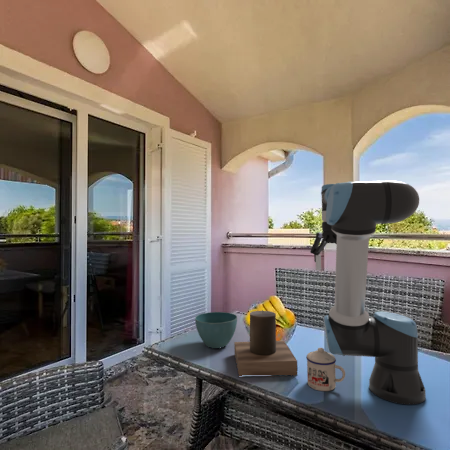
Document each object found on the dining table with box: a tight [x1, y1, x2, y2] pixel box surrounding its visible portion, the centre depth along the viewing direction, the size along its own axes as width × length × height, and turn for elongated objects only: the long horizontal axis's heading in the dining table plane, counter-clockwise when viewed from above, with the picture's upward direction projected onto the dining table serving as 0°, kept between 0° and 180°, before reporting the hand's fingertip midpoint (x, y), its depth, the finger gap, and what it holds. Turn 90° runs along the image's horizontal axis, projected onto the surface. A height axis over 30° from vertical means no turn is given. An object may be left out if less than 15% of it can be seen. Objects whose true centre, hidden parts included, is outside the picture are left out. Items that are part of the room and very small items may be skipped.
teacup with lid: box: [306, 347, 346, 392], centre depth 103 cm, size 12×9×12 cm
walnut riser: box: [233, 340, 298, 377], centre depth 120 cm, size 20×20×5 cm
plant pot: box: [194, 311, 238, 349], centre depth 141 cm, size 18×18×12 cm
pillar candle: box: [249, 309, 277, 355], centre depth 121 cm, size 10×10×15 cm
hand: (332, 271), depth 137 cm, fingers open, 13 cm apart
